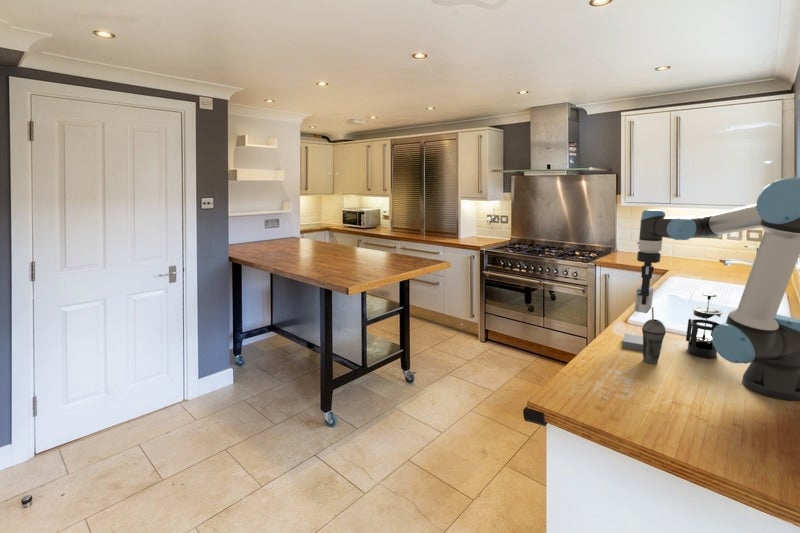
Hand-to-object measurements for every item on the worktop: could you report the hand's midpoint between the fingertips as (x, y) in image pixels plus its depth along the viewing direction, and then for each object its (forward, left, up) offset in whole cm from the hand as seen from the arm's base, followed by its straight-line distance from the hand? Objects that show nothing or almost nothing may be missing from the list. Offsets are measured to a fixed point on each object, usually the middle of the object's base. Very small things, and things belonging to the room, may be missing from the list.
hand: (643, 309), depth 165 cm
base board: (0, 0, -15) cm, 15 cm away
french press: (+3, -20, -15) cm, 25 cm away
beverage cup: (-15, -4, -15) cm, 22 cm away
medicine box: (0, 0, -1) cm, 1 cm away
